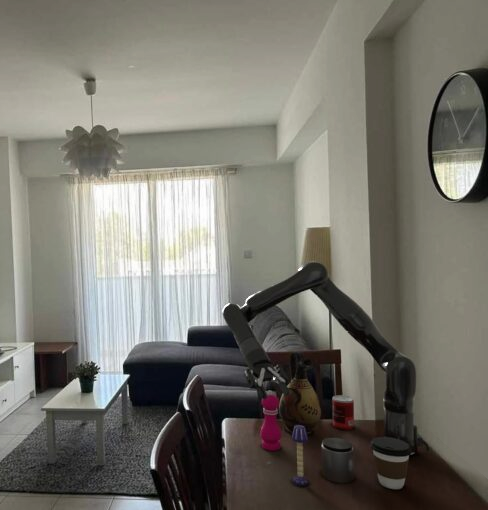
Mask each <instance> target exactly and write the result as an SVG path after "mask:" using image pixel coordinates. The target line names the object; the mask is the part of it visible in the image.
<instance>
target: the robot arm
mask: <svg viewBox="0 0 488 510" xmlns="http://www.w3.org/2000/svg"><path fill="white" fill-rule="evenodd" d="M306 291H311V292H312V293H313V294H314V295H315V296H316V297H317V298H318V299H319V300H320V301H321V302H322V303H323V304H324V306H325V307H326V309H327V310H328V312H329V313H330V314H331V315H332V316H333V318H334V319H335V320H336V321H337V323H338V324H339V325H340V326H341V327H342V329H344V330H345V331H346V333H347V334H349V335H350V337H351V338H353V339H354V340H355V341H356V342H358V344H360V345H361V346H362V347H363V348H364V349H365V350H366V351H367V352H368V353H369V354H370V356H371V358H373V359H374V361H375V362H376V363H377V365H378V367H380V369H381V370H382V372H383V374H384V375H385V390H383V436H382V437H391V438H395V439H399V440H402V441H404V442H406V443H407V444H409V446H410V448H411V450H412V453H411V454H410V455H409V457H412V456H415V455H416V456H417V455H418V454H419V453H418V447H423V445H424V446H425V451H426V452H430V446H429V444H428V443H427V442H426V441H425V440H424V439H423V437H422V436H421V435H420V434H418V425H416V424H415V397H416V395H417V368H416V367H417V366H416V365H415V363H414V361H413V360H412V359H411V358H410V357H408V356H406V355H405V354H404V353H402V352H400V351H399V350H398V349H397V348H396V347H394V345H392V344H391V343H390V341H388V340H387V339H386V338H385V336H384V335H383V334H382V332H381V330H380V329H379V328H378V326H377V324H376V323H375V321H374V320H373V319H372V318H371V317H370V315H369V314H368V313H367V311H365V310H364V309H363V308H362V306H360V305H359V304H358V303H357V302H356V300H353V298H352V297H350V296H349V295H348V294H346V292H344V291H342V290H341V289H340V288H339V287H338V286H337V285H336V284H335V282H333V280H332V279H331V278H330V277H329V271H328V268H327V267H326V266H325V264H323V263H321V262H319V261H313V260H312V261H311V260H310V261H305V262H304V263H302V264H301V265H300V267H299V268H298V271H297V272H296V273H294V274H292V275H291V276H289V277H288V278H286V279H284V280H282V281H280V282H277V283H276V284H273V285H270V286H268V287H266V288H264V289H261V290H260V291H258V292H256V293H254V294H252V295H250V296H248V298H246V300H245V304H244V305H243V306H240V305H238V304H236V303H234V302H233V303H232V302H231V303H228V304H226V305H225V306H224V307H223V309H222V317H223V319H224V321H225V323H226V324H227V326H228V328H229V329H230V331H231V333H232V334H233V337H234V340H235V342H236V343H237V345H238V348H239V350H240V353H241V355H242V357H243V359H244V361H245V364H246V366H247V367H248V368H247V369H246V370H245V371H244V372H243V375H244V377H245V380H246V383H247V384H248V387H249V389H251V390H252V389H255V390H256V392H257V394H258V395H259V397H260V398H261V400H262V399H263V400H265V399H266V398H267V397H268V396H267V394H268V393H267V392H266V389H265V388H264V385H263V383H266V382H271V383H273V384H274V383H275V384H277V385H278V386H279V388H280V391H281V392H282V394H284V396H287V395H288V394H289V389H288V387H287V386H288V384H286V383H287V382H288V381H289V377H288V374H287V373H286V372H285V370H284V368H283V367H282V365H281V364H277V365H276V366H274V365H272V363H271V359H270V357H269V355H268V354H267V352H266V350H265V348H264V346H263V344H262V342H261V341H260V340H259V338H258V336H257V334H256V333H255V331H254V330H253V328H252V327H251V325H250V324H249V323H250V322H251V321H253V320H254V319H255V318H256V317H257V316H258V315H260V314H262V313H265V312H266V311H268V310H270V309H272V308H273V307H275V306H277V305H279V304H281V303H282V302H284V301H286V300H288V299H289V298H292V297H294V296H296V295H298V294H301V293H303V292H306Z"/></svg>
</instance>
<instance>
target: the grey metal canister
mask: <svg viewBox="0 0 488 510" xmlns="http://www.w3.org/2000/svg"><path fill="white" fill-rule="evenodd" d="M354 468H355V466H354V446H353V444H352V443H351V442H350V441H349V440H346V439H344V438H339V437H327V438H324V439H323V440H322V442H321V475H322V477H323V478H324V479H326V480H327V481H329V482H330V481H331V482H333V483H339V484H347V483H348V484H349V483H351V482H353V481H354V480H355V477H354V476H355V474H354V473H355V471H354V470H355V469H354Z"/></svg>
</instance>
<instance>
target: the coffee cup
mask: <svg viewBox="0 0 488 510" xmlns="http://www.w3.org/2000/svg"><path fill="white" fill-rule="evenodd" d="M369 446H370V448H371V449H372V455H373V461H374V467H375V471H376V473H377V478H378V482H379V484H380V485H381V486H383V487H385V488H387V489H390V490H391V489H392V490H400V489H403V487H404V485H405V481H406V477H407V474H408V470H409V469H408V468H409V462H410V456H409V455H410V454H411V453H412V450H411V448H410V446H409V444H407V443H406V442H404V441H402V440H399V439H395V438H391V437H383V436H378V437H374V438H373V439H371V442H370V443H369Z"/></svg>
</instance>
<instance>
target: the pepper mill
mask: <svg viewBox="0 0 488 510" xmlns="http://www.w3.org/2000/svg"><path fill="white" fill-rule="evenodd" d="M273 393H274V392H273V391H272V390H270V389H269V390H268V391H267V393H266V394H267V396H268V397H267V398H266V399H265V400H263V399H262V398H261V405H262V407H263V408H262V413H263V414H264V420H263V422H262V423H263V424H262V425H261V427H260V428H261V429H260V433H259V435H260V438H261V439H262V440H261V447H262V448H263V449H264V450H266V451H278V450H280V448H281V442H280V441H281V439H282V431H281V429H280V426H279V423H278V421H277V420H278V419H277V415H278V414H279V404H280V400H279V398H278V397H277V395H274V394H273Z"/></svg>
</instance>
